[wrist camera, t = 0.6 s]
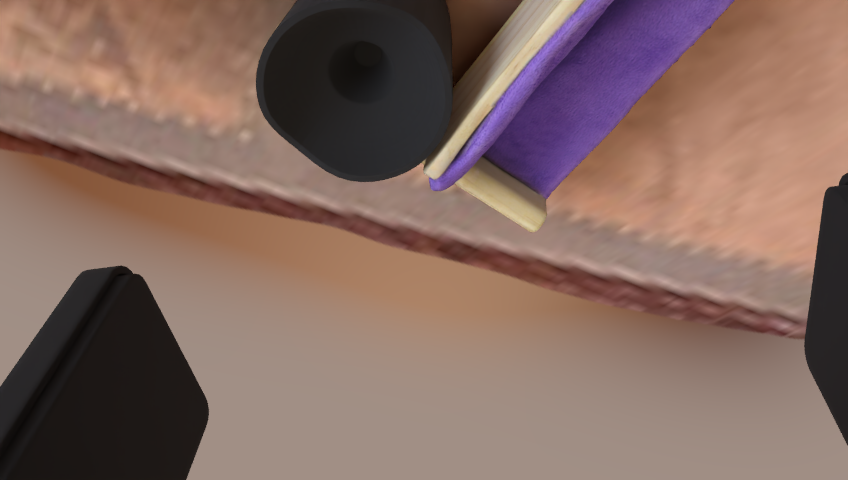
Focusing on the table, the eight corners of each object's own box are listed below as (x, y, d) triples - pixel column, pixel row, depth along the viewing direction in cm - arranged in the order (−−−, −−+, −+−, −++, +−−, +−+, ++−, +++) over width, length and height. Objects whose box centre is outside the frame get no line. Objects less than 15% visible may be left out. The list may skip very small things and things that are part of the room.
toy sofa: (527, 178, 49) (537, 276, 41) (419, 108, 47) (406, 197, 38) (785, -100, 38) (869, -43, 30) (663, -212, 36) (718, -183, 28)
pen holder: (312, 100, 47) (277, 185, 39) (283, -55, 41) (235, 6, 33) (461, 93, 46) (457, 178, 38) (452, -67, 40) (446, -6, 32)
